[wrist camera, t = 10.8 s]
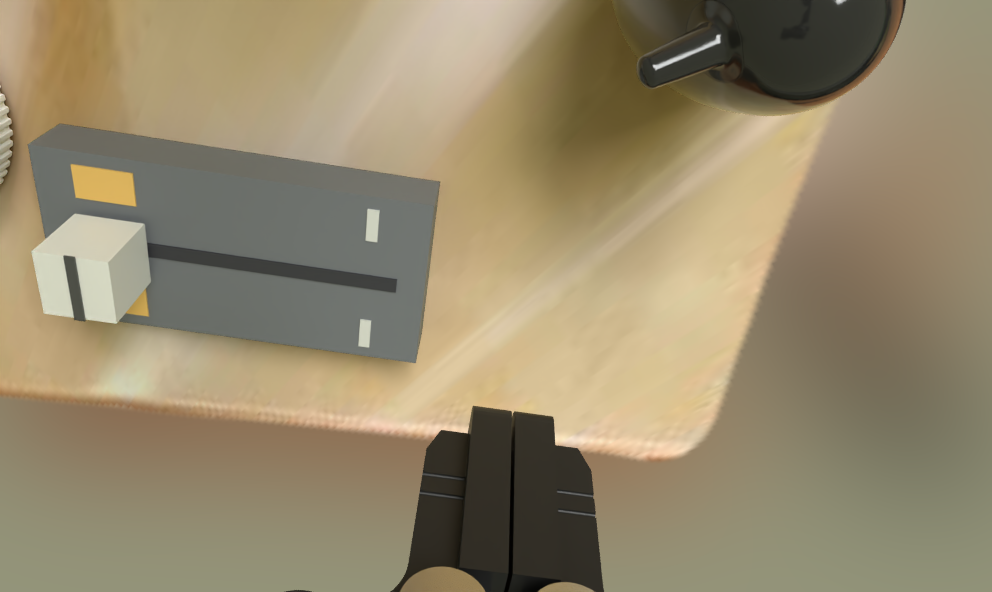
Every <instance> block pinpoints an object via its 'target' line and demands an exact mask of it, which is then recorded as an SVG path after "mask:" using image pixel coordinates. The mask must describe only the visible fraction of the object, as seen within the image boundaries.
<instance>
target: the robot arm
mask: <svg viewBox="0 0 992 592" xmlns="http://www.w3.org/2000/svg"><path fill="white" fill-rule="evenodd" d="M593 494H594V493H593V484H592V474H591V469H590V468H589V466H588V464H587V463H586V461H585V459H584V458H583V456H582V454H581V453H580V451H579V449H578V448H571V447H564V446H556V445H555V433H554V419H553V417H552V416H545V415H537V414H530V413H523V412H516V411H514V413H513V416H512V412H511V411H507V410H500V409H493V408H485V407H478V406H473V408H472V412H471V418H470V424H469V429H468V434H467V433H459V432H452V431H445V430H441V431H440V432H439V433H438V435H437V436H436V437H435V439H434V440H433V441H432V442H431V444H430V445H429V446H428V448H427V450H426V456H425V462H424V468H423V475H422V481H421V487H420V494H419V500H418V507H417V513H416V519H415V525H414V532H413V538H412V544H411V551H410V557H409V563H408V567H407V571H406V573H405V575H404V577H403V579H402V580H401V582H400V583H399V584H398V585H397V586H396V587H395V588H394V590H392V591H391V592H604V589H603V582H602V573H601V562H600V552H599V542H598V533H597V523H596V518H595V503H594V499H593ZM286 592H310V591H304V590H294V591H286Z"/></svg>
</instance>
